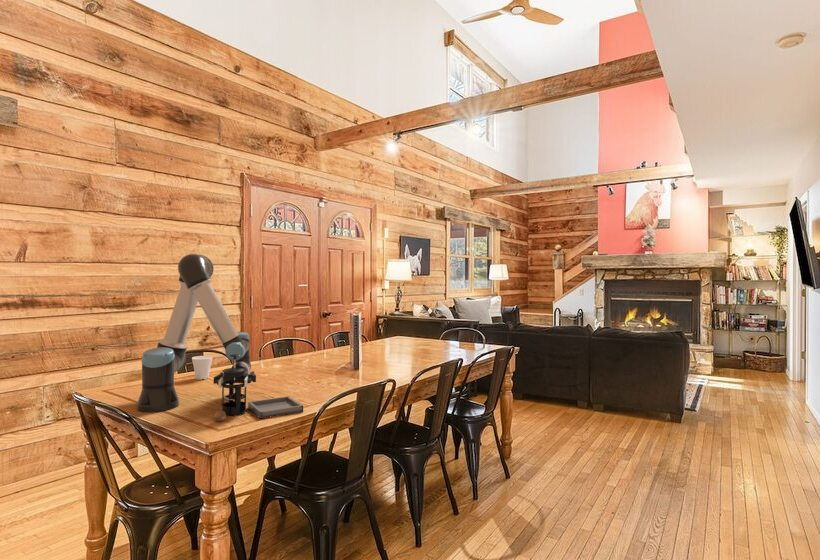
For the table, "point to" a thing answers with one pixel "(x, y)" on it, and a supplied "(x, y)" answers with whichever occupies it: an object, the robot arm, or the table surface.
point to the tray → (275, 406)
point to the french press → (234, 391)
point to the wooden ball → (220, 415)
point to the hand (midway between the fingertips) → (232, 384)
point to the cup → (202, 366)
